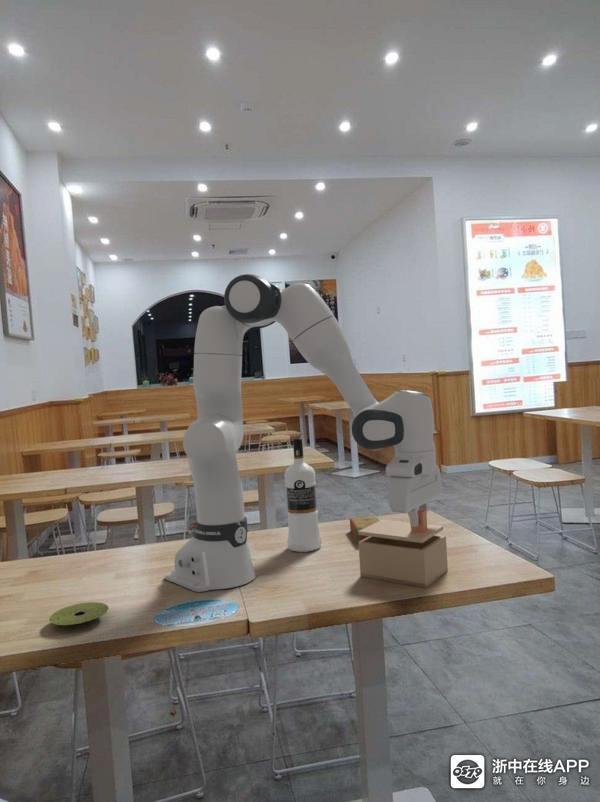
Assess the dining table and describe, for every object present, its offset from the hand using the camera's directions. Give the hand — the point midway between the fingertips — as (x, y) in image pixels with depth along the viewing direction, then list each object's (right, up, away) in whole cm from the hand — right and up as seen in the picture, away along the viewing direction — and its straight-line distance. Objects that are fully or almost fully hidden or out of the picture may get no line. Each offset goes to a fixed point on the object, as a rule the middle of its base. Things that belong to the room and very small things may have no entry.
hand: (418, 524), depth 131 cm
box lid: (-3, -2, +3) cm, 5 cm away
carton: (-7, -12, +35) cm, 37 cm away
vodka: (-25, -13, +28) cm, 40 cm away
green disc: (-71, -17, -12) cm, 74 cm away
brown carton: (-3, -12, +3) cm, 13 cm away
